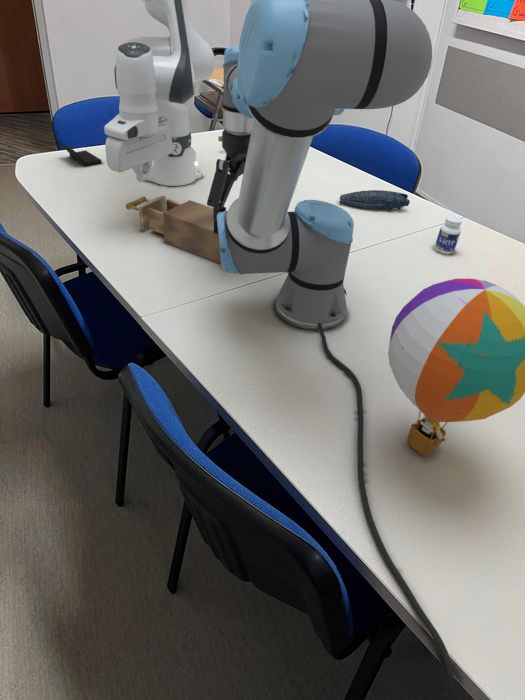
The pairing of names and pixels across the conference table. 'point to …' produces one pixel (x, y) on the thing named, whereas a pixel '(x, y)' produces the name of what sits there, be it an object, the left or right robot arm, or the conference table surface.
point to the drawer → (152, 212)
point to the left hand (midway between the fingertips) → (143, 179)
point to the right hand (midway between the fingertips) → (236, 224)
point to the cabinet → (192, 230)
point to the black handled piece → (82, 156)
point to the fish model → (376, 199)
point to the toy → (458, 355)
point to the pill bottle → (448, 235)
